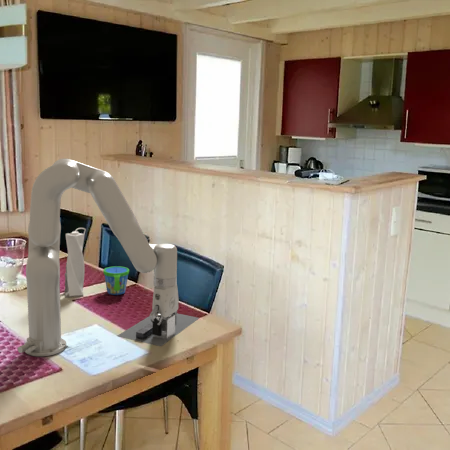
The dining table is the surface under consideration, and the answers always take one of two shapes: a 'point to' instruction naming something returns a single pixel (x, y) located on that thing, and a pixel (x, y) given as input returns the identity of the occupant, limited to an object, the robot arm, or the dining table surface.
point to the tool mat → (130, 333)
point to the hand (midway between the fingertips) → (164, 329)
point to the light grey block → (167, 327)
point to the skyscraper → (74, 264)
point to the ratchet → (145, 332)
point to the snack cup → (116, 279)
